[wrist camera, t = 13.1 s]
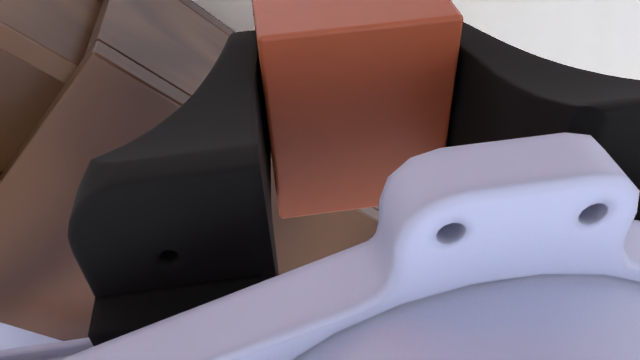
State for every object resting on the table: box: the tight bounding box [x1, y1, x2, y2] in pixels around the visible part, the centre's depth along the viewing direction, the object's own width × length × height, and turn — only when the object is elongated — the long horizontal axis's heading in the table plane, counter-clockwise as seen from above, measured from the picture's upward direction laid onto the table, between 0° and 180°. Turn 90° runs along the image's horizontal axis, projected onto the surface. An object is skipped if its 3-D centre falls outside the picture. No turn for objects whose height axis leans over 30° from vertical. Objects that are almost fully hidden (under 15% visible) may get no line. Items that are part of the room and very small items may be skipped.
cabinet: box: [0, 0, 379, 341], centre depth 24 cm, size 15×13×8 cm
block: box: [252, 0, 463, 219], centre depth 13 cm, size 4×5×4 cm
